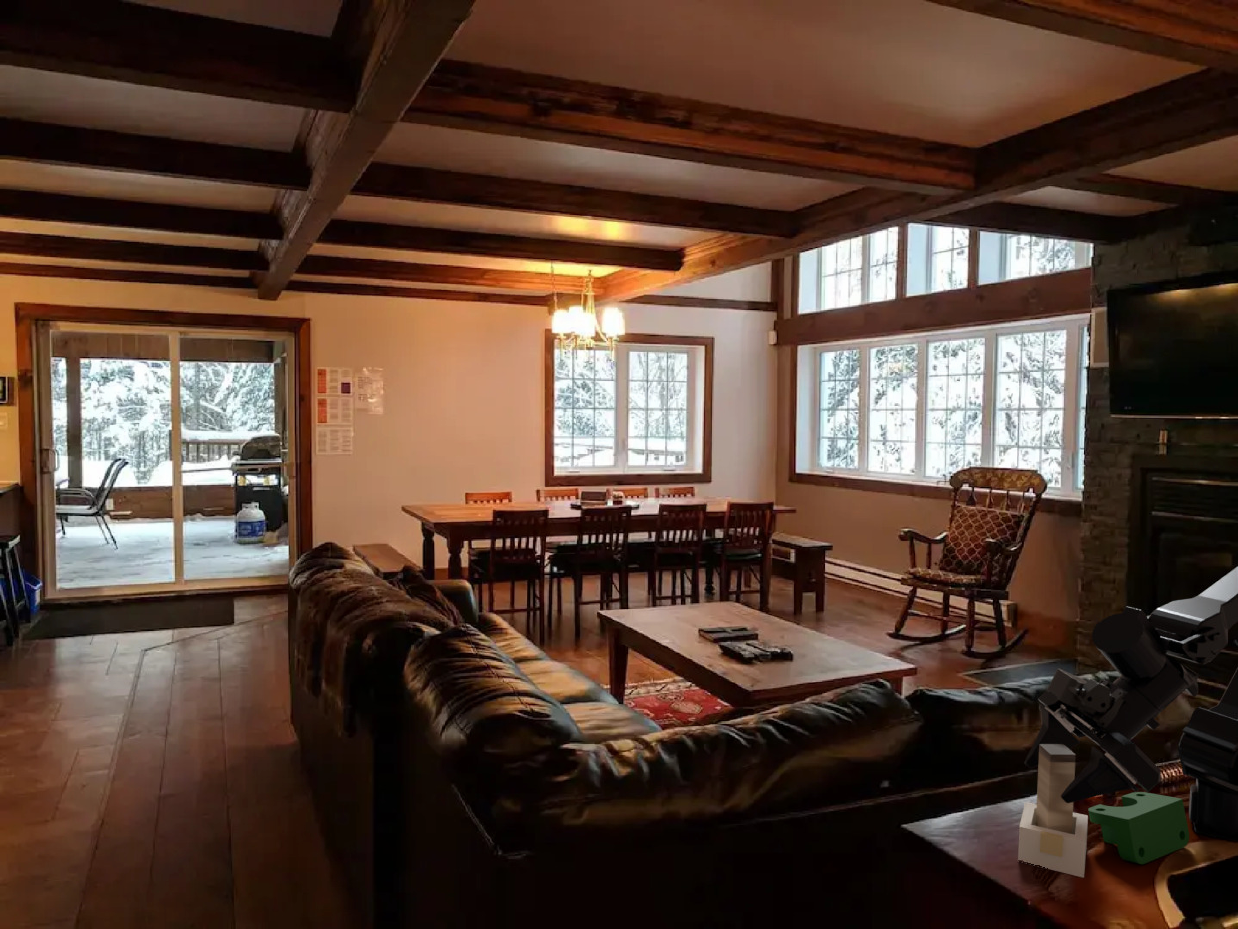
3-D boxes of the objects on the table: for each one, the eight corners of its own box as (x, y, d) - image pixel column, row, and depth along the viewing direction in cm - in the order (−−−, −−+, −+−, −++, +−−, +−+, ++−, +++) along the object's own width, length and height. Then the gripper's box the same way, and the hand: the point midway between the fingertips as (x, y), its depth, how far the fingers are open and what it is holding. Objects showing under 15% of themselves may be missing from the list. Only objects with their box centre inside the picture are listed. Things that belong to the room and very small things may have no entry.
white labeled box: (1086, 849, 110) (1088, 814, 110) (1083, 880, 103) (1085, 843, 103) (1023, 834, 114) (1025, 801, 113) (1017, 863, 107) (1018, 828, 106)
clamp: (1140, 865, 114) (1145, 793, 117) (1187, 876, 109) (1191, 801, 112) (1080, 848, 110) (1086, 774, 113) (1125, 860, 105) (1130, 782, 107)
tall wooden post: (1059, 843, 110) (1063, 744, 109) (1070, 856, 107) (1075, 754, 106) (1035, 843, 110) (1039, 744, 109) (1046, 855, 107) (1050, 754, 106)
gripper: (1056, 628, 115) (970, 709, 117) (1139, 676, 97) (1036, 772, 98) (1112, 685, 116) (1026, 765, 117) (1206, 744, 98) (1103, 838, 99)
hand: (1044, 782), depth 108 cm, fingers open, 9 cm apart
